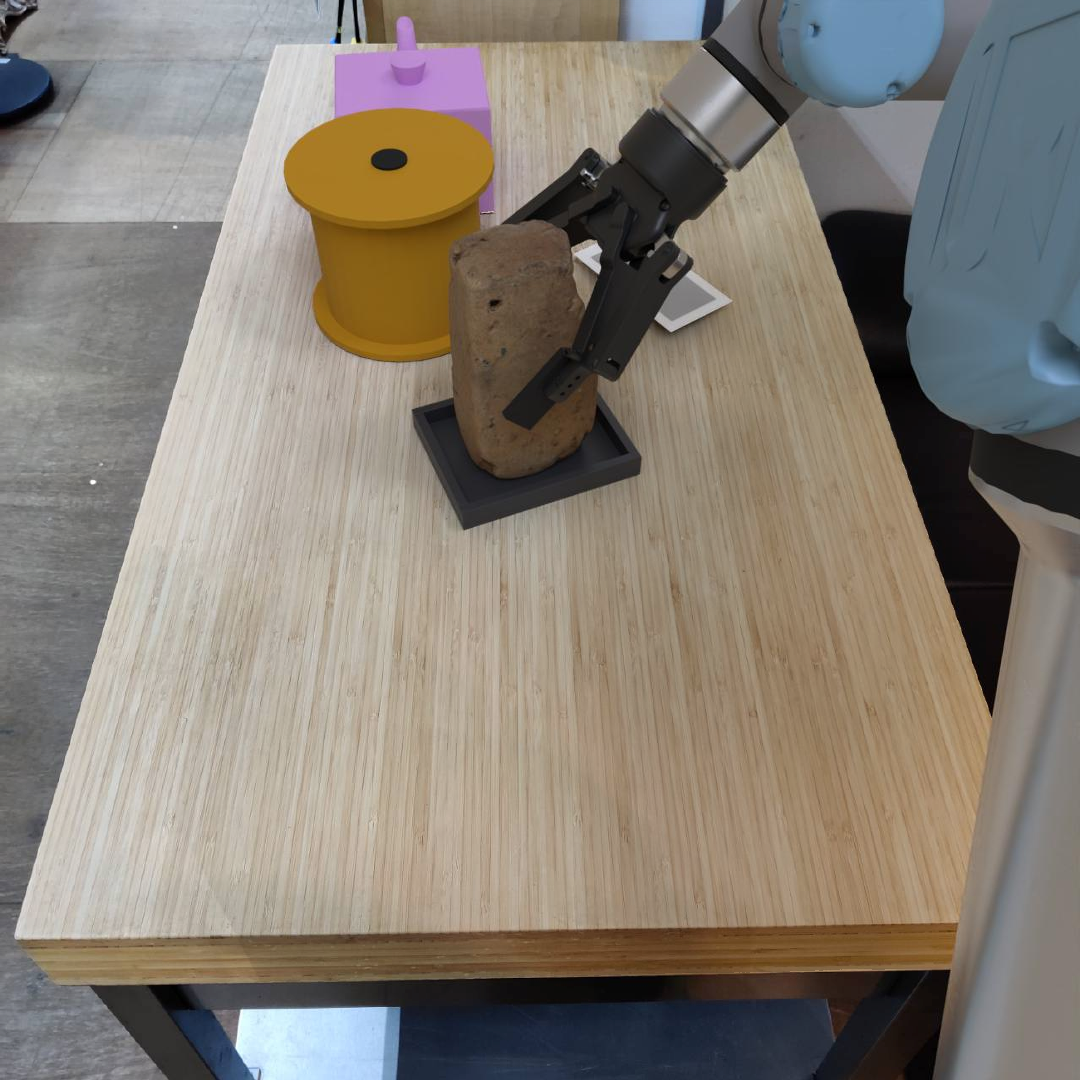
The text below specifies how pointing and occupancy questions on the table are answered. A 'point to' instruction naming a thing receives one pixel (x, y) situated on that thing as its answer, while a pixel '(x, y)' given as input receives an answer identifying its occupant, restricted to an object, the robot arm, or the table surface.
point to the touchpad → (673, 295)
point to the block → (514, 343)
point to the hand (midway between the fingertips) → (488, 373)
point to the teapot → (417, 84)
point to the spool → (388, 224)
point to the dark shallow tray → (493, 498)
